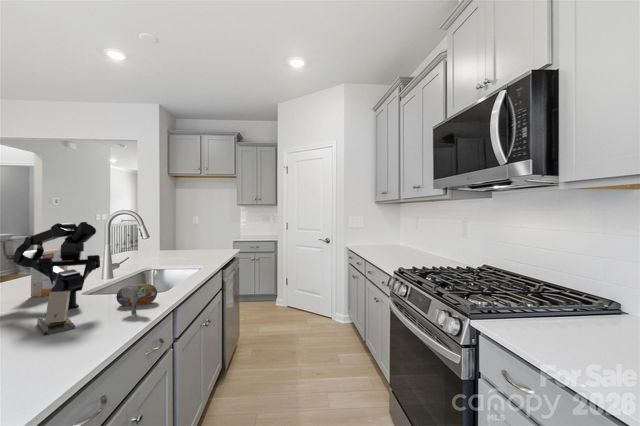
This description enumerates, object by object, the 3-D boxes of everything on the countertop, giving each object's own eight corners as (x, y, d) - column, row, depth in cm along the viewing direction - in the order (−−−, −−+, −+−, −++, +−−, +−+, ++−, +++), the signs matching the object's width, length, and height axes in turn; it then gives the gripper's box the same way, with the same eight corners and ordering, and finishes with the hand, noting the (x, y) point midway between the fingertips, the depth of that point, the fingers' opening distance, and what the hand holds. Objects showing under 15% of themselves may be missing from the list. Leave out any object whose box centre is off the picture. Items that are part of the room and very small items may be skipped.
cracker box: (43, 297, 141) (42, 251, 141) (30, 297, 141) (29, 251, 141) (68, 289, 155) (68, 248, 155) (56, 289, 155) (56, 247, 155)
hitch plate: (37, 324, 108) (37, 317, 108) (66, 318, 114) (66, 312, 114) (43, 335, 99) (43, 328, 99) (75, 328, 105) (75, 321, 105)
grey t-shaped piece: (142, 314, 119) (142, 289, 119) (119, 312, 121) (119, 287, 121) (147, 312, 122) (147, 287, 122) (125, 310, 124) (125, 285, 124)
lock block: (48, 321, 108) (52, 291, 110) (66, 319, 110) (70, 291, 112) (44, 322, 104) (49, 292, 106) (63, 321, 106) (67, 291, 108)
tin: (116, 307, 128) (116, 287, 128) (118, 305, 131) (118, 285, 131) (156, 303, 134) (156, 284, 134) (157, 301, 137) (157, 282, 137)
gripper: (38, 236, 115) (30, 271, 105) (99, 234, 124) (97, 266, 115) (43, 255, 121) (36, 289, 112) (101, 252, 131) (99, 283, 122)
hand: (68, 281), depth 115 cm, fingers open, 9 cm apart
